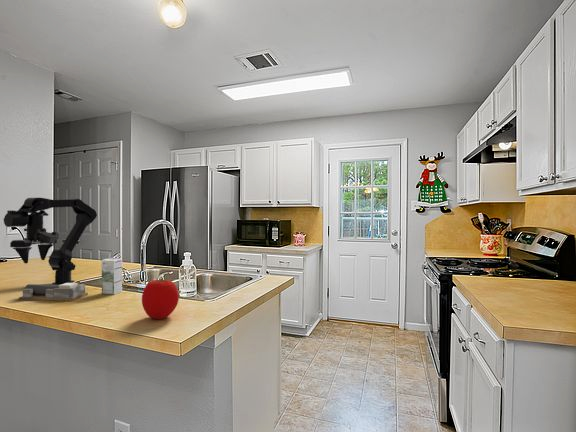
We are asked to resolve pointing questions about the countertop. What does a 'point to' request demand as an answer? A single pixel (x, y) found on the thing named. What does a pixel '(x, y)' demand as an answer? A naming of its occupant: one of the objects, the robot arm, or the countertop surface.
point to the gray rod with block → (47, 287)
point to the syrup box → (111, 276)
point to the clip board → (56, 294)
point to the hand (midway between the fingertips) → (34, 261)
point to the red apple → (160, 298)
